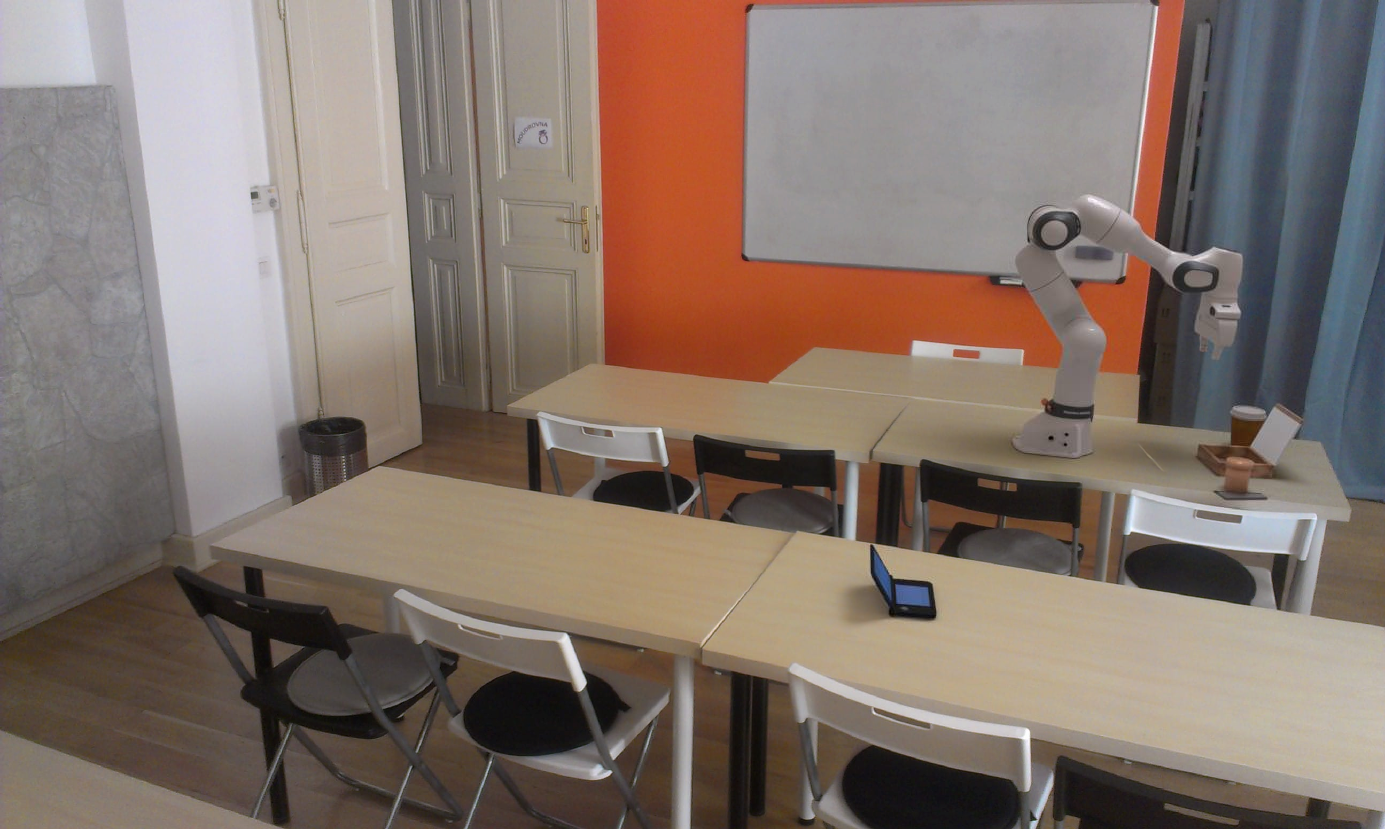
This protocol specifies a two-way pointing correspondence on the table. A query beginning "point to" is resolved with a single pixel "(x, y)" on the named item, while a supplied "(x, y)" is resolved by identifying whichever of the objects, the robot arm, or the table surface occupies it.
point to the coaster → (1241, 496)
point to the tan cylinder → (1238, 474)
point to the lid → (1276, 434)
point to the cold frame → (1218, 455)
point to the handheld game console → (903, 592)
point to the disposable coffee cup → (1245, 424)
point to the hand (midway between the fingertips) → (1209, 355)
